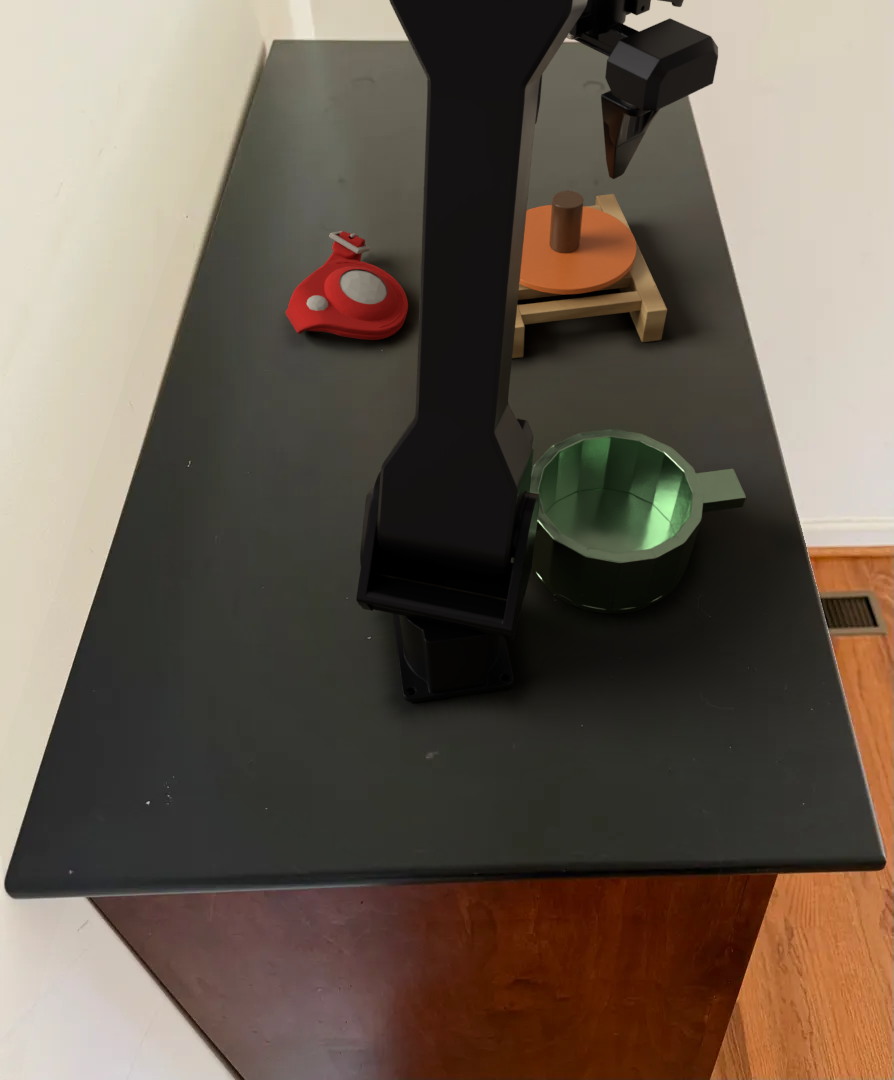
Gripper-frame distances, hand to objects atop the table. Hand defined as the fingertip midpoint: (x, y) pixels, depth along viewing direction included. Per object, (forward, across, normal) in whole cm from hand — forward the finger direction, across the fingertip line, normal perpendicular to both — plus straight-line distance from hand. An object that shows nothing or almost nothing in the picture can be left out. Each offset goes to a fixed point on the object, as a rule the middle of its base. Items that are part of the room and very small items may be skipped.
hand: (571, 150), depth 66 cm
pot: (+12, -22, +16) cm, 30 cm away
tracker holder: (+12, +9, +14) cm, 21 cm away
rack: (+12, 0, 0) cm, 12 cm away
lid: (+8, 0, 0) cm, 8 cm away
